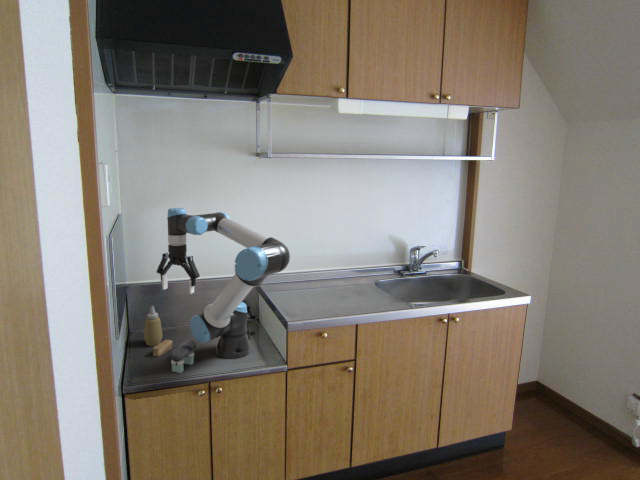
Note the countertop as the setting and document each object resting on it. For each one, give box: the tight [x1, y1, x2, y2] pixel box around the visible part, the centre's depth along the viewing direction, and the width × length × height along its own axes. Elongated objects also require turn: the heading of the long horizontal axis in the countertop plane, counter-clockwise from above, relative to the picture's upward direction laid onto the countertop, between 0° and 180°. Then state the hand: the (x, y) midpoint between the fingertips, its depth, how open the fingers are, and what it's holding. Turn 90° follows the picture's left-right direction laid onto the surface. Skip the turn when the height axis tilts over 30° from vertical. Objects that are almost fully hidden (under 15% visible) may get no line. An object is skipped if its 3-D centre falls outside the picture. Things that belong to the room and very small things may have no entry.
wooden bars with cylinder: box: [152, 339, 173, 357], centre depth 195 cm, size 12×10×4 cm
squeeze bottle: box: [143, 305, 163, 347], centre depth 202 cm, size 8×8×18 cm
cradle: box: [170, 351, 195, 374], centre depth 183 cm, size 10×5×5 cm, turn 163°
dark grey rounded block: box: [169, 339, 197, 362], centre depth 183 cm, size 11×5×5 cm, turn 163°
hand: (178, 291), depth 196 cm, fingers open, 13 cm apart
